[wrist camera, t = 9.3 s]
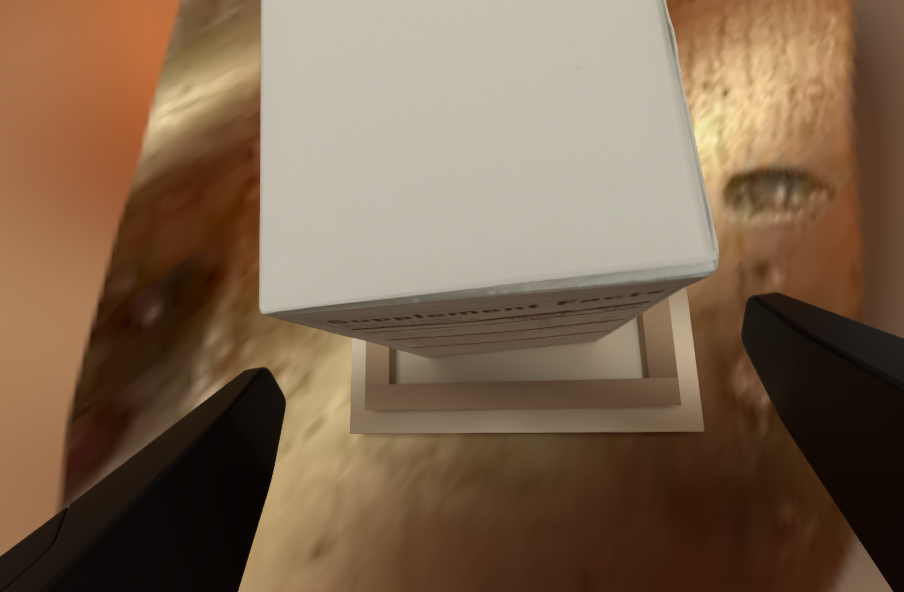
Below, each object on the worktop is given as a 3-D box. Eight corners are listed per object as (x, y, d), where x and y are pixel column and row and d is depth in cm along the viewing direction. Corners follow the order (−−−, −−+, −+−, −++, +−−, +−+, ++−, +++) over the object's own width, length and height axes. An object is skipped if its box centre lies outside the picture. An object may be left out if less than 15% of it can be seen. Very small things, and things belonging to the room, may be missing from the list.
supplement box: (414, 200, 21) (251, -59, 9) (579, 178, 20) (655, -154, 8) (422, 362, 20) (240, 319, 7) (602, 348, 18) (743, 269, 6)
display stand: (691, 428, 19) (714, 434, 16) (362, 430, 21) (340, 435, 18) (653, 118, 21) (668, 84, 19) (367, 149, 24) (349, 122, 21)
